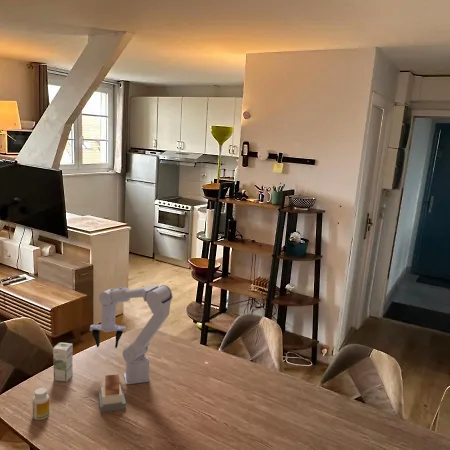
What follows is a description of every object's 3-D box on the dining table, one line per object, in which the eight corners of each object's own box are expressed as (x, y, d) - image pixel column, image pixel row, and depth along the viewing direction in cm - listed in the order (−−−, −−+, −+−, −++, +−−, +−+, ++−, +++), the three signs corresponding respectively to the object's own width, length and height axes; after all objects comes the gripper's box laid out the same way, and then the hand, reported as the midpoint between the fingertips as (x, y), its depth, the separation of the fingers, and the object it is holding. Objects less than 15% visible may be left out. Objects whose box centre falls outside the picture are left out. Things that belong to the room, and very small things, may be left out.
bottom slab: (122, 396, 165) (122, 389, 164) (125, 410, 156) (125, 403, 156) (98, 399, 161) (98, 392, 161) (100, 414, 153) (100, 407, 153)
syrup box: (73, 374, 175) (73, 342, 173) (66, 382, 170) (66, 349, 167) (60, 373, 176) (59, 341, 173) (53, 381, 170) (52, 348, 167)
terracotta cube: (118, 386, 161) (118, 374, 160) (119, 393, 156) (119, 381, 155) (105, 387, 159) (105, 375, 158) (105, 395, 155) (105, 383, 154)
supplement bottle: (52, 413, 151) (52, 388, 149) (41, 422, 146) (41, 397, 144) (40, 409, 153) (40, 385, 151) (29, 417, 148) (28, 393, 146)
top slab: (120, 391, 163) (120, 384, 162) (122, 402, 156) (122, 394, 156) (101, 393, 160) (101, 386, 160) (102, 404, 154) (102, 397, 153)
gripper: (88, 320, 173) (87, 350, 175) (124, 321, 174) (123, 351, 177) (92, 313, 179) (91, 342, 182) (126, 314, 181) (125, 343, 184)
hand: (107, 346), depth 180 cm, fingers open, 7 cm apart
